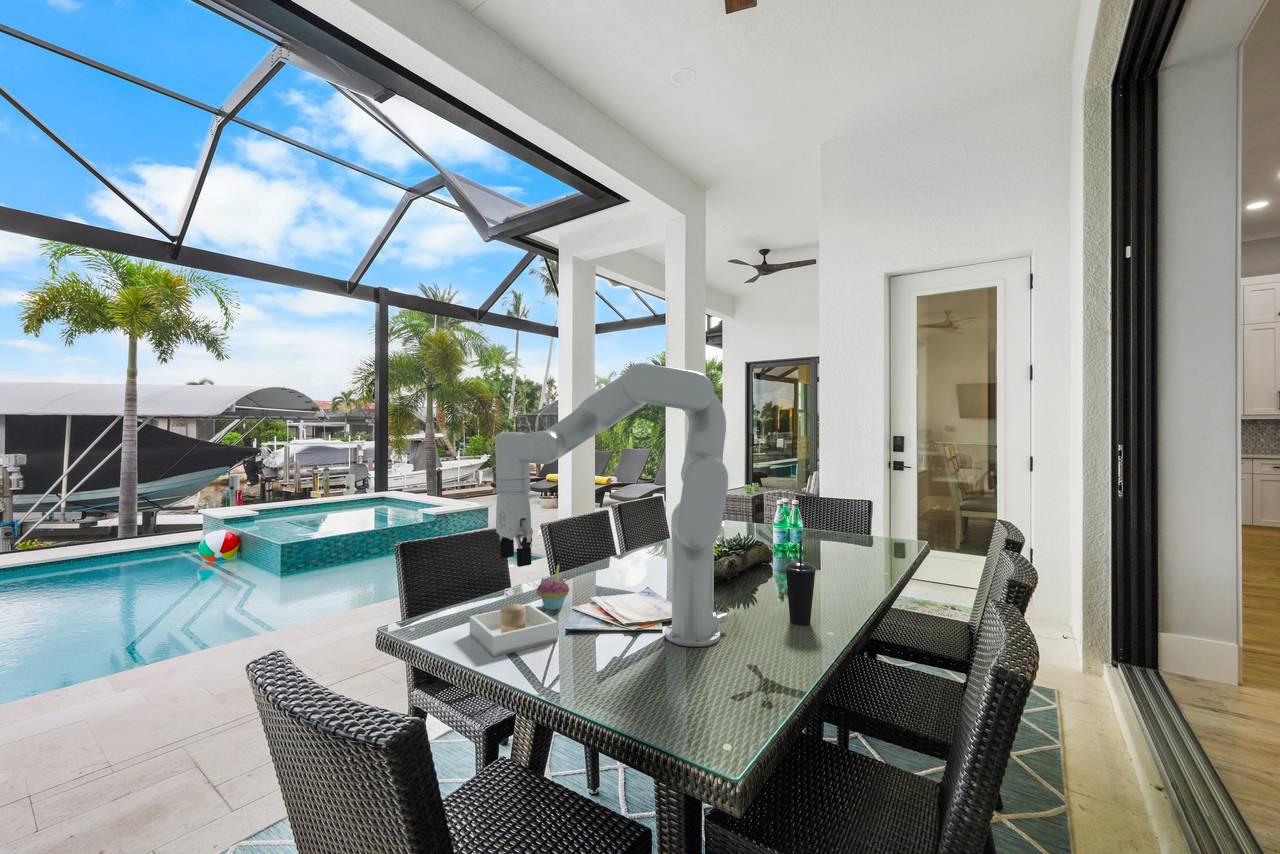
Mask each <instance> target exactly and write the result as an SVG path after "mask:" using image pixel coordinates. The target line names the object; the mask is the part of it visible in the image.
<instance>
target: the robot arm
mask: <svg viewBox="0 0 1280 854" xmlns="http://www.w3.org/2000/svg"><path fill="white" fill-rule="evenodd" d="M647 404H650V405H655V406H659V407H660V406H661V407H665V408H672V409H673V408H674V409H679V410H682V411H683V412H684V413H685V414H686V416H687V419H688V431H687V432H688V433H687V441H686V445H685V446H686V447H685V453H684V459H683V462H682V467H681V471H680V479H681V481H682V489H681V496H680V501H679V502H678V504H676V506H675V508H674V509H673V511H672V514H671V522H670V524H671V525H670V527H671V528H670V529H671V556H672V557H671V560H672V562H671V565H672V567H671V625H669V626H667V627H666V628H665V630H664V637H665V638H666V640H668V641H669V642H671V643H673V644H675V645H679V646H681V647H682V646H684V647H691V648H692V647H693V648H695V647H696V648H699V647H708V646H711V645H714V644H716V643H718V642H719V641H720V639H721V631H720V630H719V629H718V628H717V627H718V626H719V625H720V624H724V623H727V622H728V621H729V615H728V613H722V614H719V615H717V613H716V612H714V599H715V597H714V591H715V590H714V586H715V585H714V581H715V580H714V579H715V577H714V576H715V575H714V573H715V572H714V570H715V552H714V551H715V550H714V549H715V548H714V547H715V546H714V543H715V542H716V541H717V539H718V538H719V535H720V534H721V533H720V532H721V528H722V524H723V518H724V512H725V509H726V508H725V507H726V502H727V501H726V500H727V494H728V487H729V474H728V469H727V467H726V465H725V464H724V462H723V456H724V449H725V440H726V433H727V418H726V412H725V409H724V407H723V405H722V403H721V400H720V399H719V398H718V396H717V394H716V393H715V389H714V384H713V382H712V381H711V379H710V378H709V377H708V376H706V374H704V373H701V372H698V371H693V370H688V369H682V368H681V369H680V368H676V367H675V368H674V367H671V366H670V367H669V366H663V365H659V364H652V363H645V362H639V363H635V364H633V365H632V366H630V367H629V368H627V370H626V371H625V373H623V374H622V375H620V376H618V377H617V378H616V379H614V380H613V381H611V382H610V383H607V385H605V386H603V387H602V388H600V389H598V390H597V391H596V392H594V393H592V394H591V395H589V396H587V397H586V398H585V399H584V400H583V401H582V402H581V403H580V404H579V406H578V407H577V408H576V409H575V410H574V411H572V412H571V413H570V414H568V415H567V416H565V417H564V418H562V419H561V420H560V421H558V422H556V423H555V424H553V425H551V426H550V427H548V428H547V429H543V430H540V431H533V432H522V431H518V432H517V431H516V432H515V431H512V432H500V433H497V435H496V436H495V439H494V441H495V442H494V447H495V478H496V481H495V482H496V483H495V484H496V494H497V497H496V506H495V507H496V509H495V514H496V515H495V532H496V534H498V536H499V537H498V538H499V555H500V556H499V557H500V558H501V559H503V560H504V559H508V558H513V557H514V556H515V543H514V542H516V544H517V548H516V566H517V567H518V568H520V567H521V568H522V567H526V566H530V565H531V566H532V547H533V545H532V543H533V534H534V530H533V528H532V515H531V503H530V495H529V493H531V468H530V467H531V466H530V464H535V465H548V464H551V463H554V462H555V461H557V460H560V459H561V458H562V457H563V456H565V455H567V454H568V453H570V452H571V451H573V450H574V449H576V448H577V447H579V446H581V445H582V444H583V443H585V442H587V441H588V440H590V439H592V438H594V437H595V436H597V435H599V434H602V433H604V432H605V431H607V430H608V429H610V428H611V427H613V426H614V425H616V424H617V423H619V422H621V421H622V420H623V419H625V418H627V417H628V416H630V415H631V414H633V413H635V412H636V411H638V410H639V409H640V408H642V407H644V406H646V405H647ZM514 538H515V539H514Z"/></svg>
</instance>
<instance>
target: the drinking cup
mask: <svg viewBox="0 0 1280 854" xmlns="http://www.w3.org/2000/svg"><path fill="white" fill-rule="evenodd" d="M783 567H784V569H785V577H786V579H785V580H786V589H787V599H788V601H787V602H788V612H789V614H788V615H789V622H790V623H791V624H793V625H797V626H808V625H810V624H811V620H812V609H813V599H814V588H815V580H816V579H815V578H816V572H817V567H816V566H815V565H813V564H811V563H809V562H806V561H803V541H802V540H799V541H798V560H797V561H792V562H790V563H787V564H784V566H783Z"/></svg>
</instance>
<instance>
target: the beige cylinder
mask: <svg viewBox="0 0 1280 854" xmlns="http://www.w3.org/2000/svg"><path fill="white" fill-rule="evenodd" d="M524 605H525V604H519V603H512V604H507V605H504V606H502V607H501V608H500V610H501V633H505V632H509V631H514V630H518V629H523V628H525V606H524Z"/></svg>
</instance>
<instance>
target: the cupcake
mask: <svg viewBox="0 0 1280 854" xmlns="http://www.w3.org/2000/svg"><path fill="white" fill-rule="evenodd" d="M559 572H560V562H558V563H557V566H556V570H555V578H554V579H548V580H544V581H542V582H541V583H540V584H538V586H537V588H536V594H537V596H539V597H540V598H541V600H542V603H543V607H544V608H545V610H559V609H561V608H563V607H564V606H563V605H564V602H565V600H566V597H567V596H568V594H569V592H570V587H569V585H568V583H566V582H565V581H563V580H562V579H559Z"/></svg>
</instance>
